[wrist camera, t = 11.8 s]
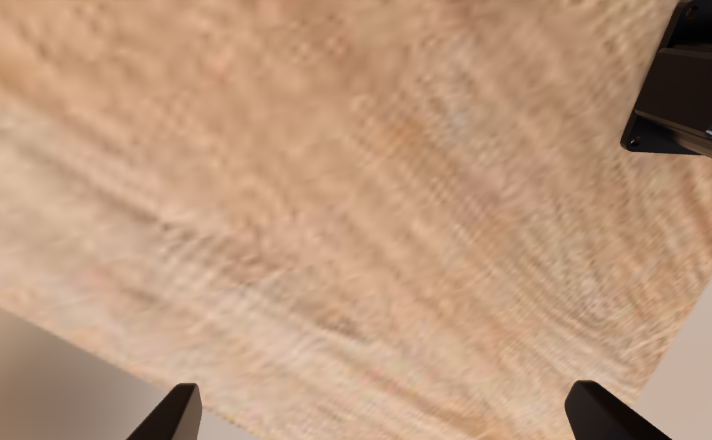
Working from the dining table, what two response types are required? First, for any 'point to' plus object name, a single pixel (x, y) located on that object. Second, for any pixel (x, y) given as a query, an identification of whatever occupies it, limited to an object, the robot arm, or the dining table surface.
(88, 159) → the dining table surface
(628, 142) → the robot arm
